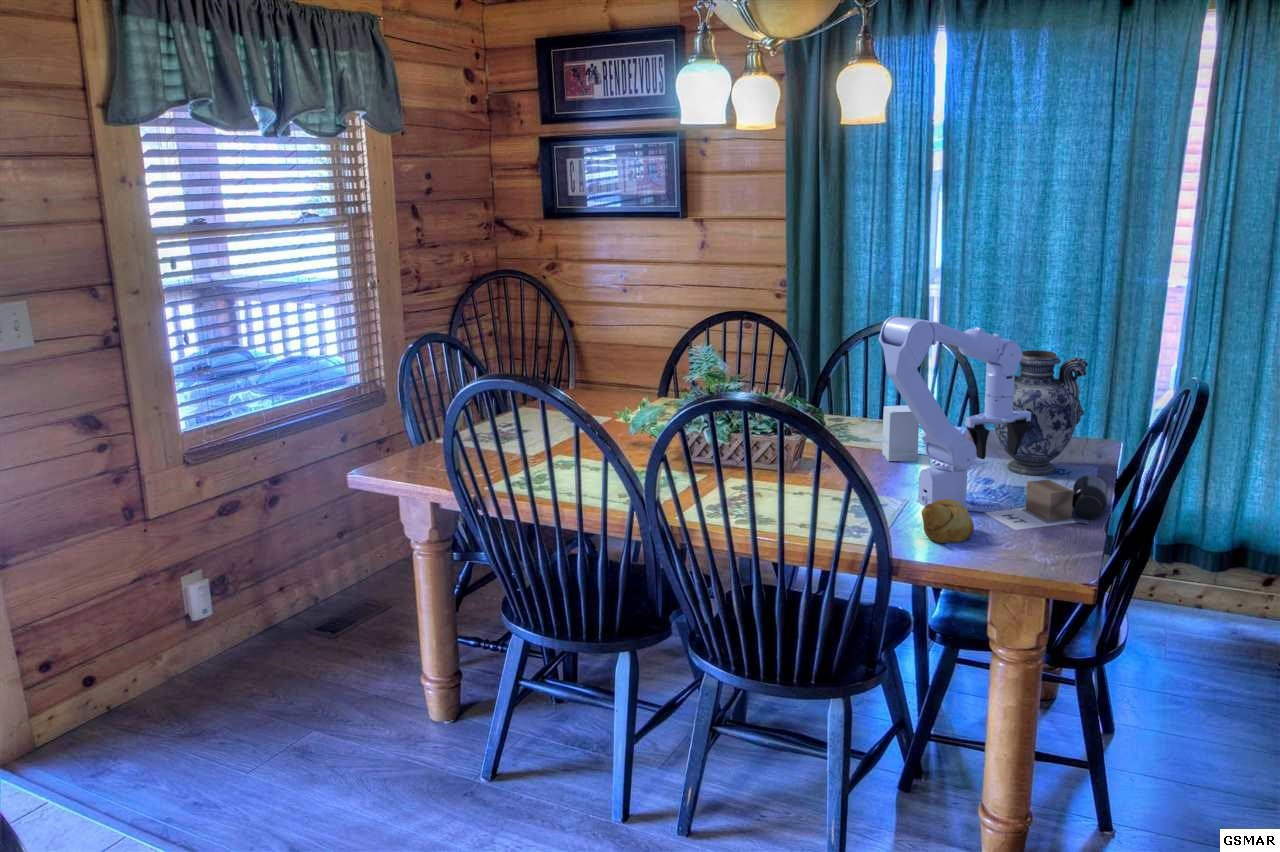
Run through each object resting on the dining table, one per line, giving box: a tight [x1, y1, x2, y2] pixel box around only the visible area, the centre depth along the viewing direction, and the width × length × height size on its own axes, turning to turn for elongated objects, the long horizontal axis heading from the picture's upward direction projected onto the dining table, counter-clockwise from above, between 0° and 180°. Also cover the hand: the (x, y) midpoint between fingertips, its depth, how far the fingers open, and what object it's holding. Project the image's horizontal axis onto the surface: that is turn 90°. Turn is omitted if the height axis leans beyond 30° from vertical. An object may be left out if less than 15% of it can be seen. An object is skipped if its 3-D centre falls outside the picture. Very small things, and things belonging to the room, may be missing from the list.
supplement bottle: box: [1072, 474, 1109, 519], centre depth 211 cm, size 7×7×12 cm
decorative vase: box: [993, 349, 1089, 476], centre depth 240 cm, size 21×19×28 cm
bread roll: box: [921, 499, 975, 545], centre depth 202 cm, size 13×10×8 cm
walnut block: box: [1025, 478, 1073, 522], centre depth 210 cm, size 5×8×6 cm, turn 14°
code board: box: [984, 507, 1077, 531], centre depth 210 cm, size 14×11×1 cm
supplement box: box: [881, 404, 920, 462], centre depth 255 cm, size 7×7×13 cm
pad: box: [1022, 509, 1075, 524], centre depth 211 cm, size 6×9×1 cm
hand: (996, 456), depth 222 cm, fingers open, 7 cm apart
